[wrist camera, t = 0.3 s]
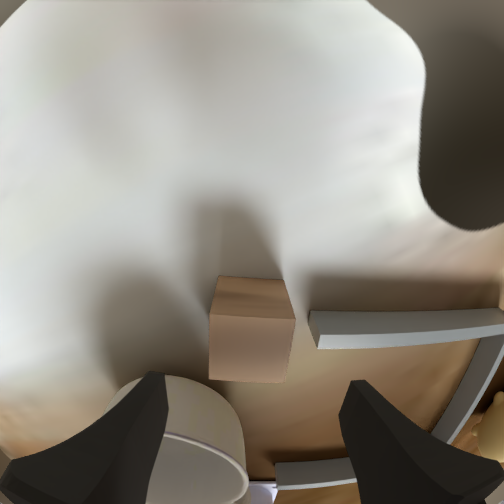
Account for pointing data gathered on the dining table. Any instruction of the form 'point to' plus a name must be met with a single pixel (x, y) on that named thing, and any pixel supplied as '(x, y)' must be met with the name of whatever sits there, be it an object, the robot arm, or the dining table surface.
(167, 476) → the teacup
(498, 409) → the yellow lumpy rounded piece
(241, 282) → the walnut block
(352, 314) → the gray open frame
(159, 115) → the dining table surface
